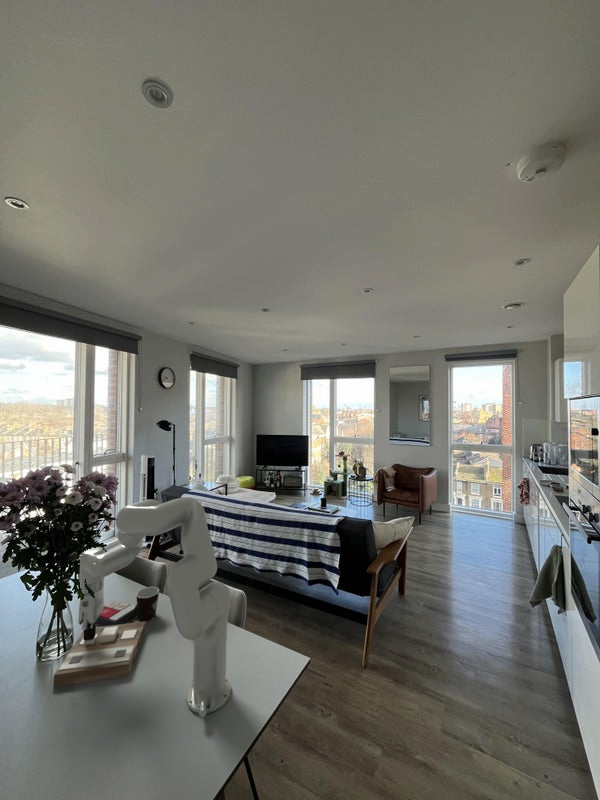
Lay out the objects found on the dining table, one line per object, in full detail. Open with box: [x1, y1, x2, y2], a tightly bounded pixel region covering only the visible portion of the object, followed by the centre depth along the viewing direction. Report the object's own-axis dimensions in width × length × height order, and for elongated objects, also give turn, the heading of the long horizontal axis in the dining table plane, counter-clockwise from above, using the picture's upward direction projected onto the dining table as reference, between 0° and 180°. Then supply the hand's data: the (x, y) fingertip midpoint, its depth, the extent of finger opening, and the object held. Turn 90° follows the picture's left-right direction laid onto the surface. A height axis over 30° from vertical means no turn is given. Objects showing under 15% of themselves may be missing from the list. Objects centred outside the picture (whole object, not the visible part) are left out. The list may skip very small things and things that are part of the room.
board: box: [53, 621, 146, 688], centre depth 111 cm, size 22×21×4 cm
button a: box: [120, 629, 137, 640], centre depth 116 cm, size 4×4×4 cm
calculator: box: [95, 599, 138, 627], centre depth 132 cm, size 11×4×15 cm
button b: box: [100, 626, 118, 643], centre depth 115 cm, size 4×4×4 cm
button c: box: [79, 634, 98, 646], centre depth 113 cm, size 4×4×4 cm
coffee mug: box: [134, 586, 160, 622], centre depth 131 cm, size 12×9×10 cm
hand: (89, 638), depth 113 cm, fingers closed
